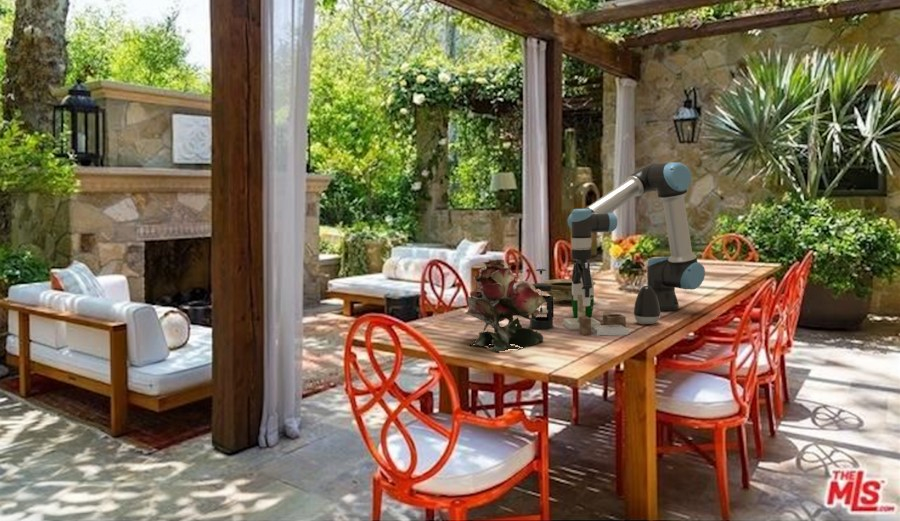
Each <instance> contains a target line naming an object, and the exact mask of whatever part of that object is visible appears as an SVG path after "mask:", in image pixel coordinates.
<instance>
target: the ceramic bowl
mask: <svg viewBox="0 0 900 521" xmlns="http://www.w3.org/2000/svg"><path fill="white" fill-rule="evenodd" d="M543 283H547V284H552V285H553V286H551V291H546V293H547V294H548V296H553V299H554V298H555V299H556V300H561V301H560V303H561V304H563V305H564V304H566V305H572V278H565V279H564V278H563V279H562V278H558V279H547V280H544V282H543ZM595 285H596V281H594V280H593V286H595Z"/></svg>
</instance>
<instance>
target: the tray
mask: <svg viewBox="0 0 900 521" xmlns="http://www.w3.org/2000/svg"><path fill="white" fill-rule="evenodd" d="M562 321H563V323H562V324H563V326H564V327H565V328H567V329H568V330H569V331H579V323H578V318H574V317H573V318H563V320H562ZM598 325H601V321H599V320H597V319H596V318H594V317H591V326H598Z"/></svg>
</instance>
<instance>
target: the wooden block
mask: <svg viewBox="0 0 900 521" xmlns="http://www.w3.org/2000/svg"><path fill="white" fill-rule="evenodd" d="M591 318H592V317H591ZM591 318H589V317H588V316H581V317H579V330H578V332H579V333H580V334H581V335H583V336H588V335H589V336H590V335H592V332H591Z"/></svg>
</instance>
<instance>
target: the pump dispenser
mask: <svg viewBox="0 0 900 521" xmlns="http://www.w3.org/2000/svg"><path fill="white" fill-rule="evenodd" d="M633 316H634V320H636V322H637V323H638V324H640V323H641V324H640V325H644V324H652V325H654V324H656V323H657V322H658V321H659V319H660V317H661V311H660V306H659V302H658V298H657V295H656V293H655V291H654V289H653V288H652V287H650V286H647V285H644V286H642V287H641V288H639V291H638V292H637V294H636V299H635V302H634V307H633Z"/></svg>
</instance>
